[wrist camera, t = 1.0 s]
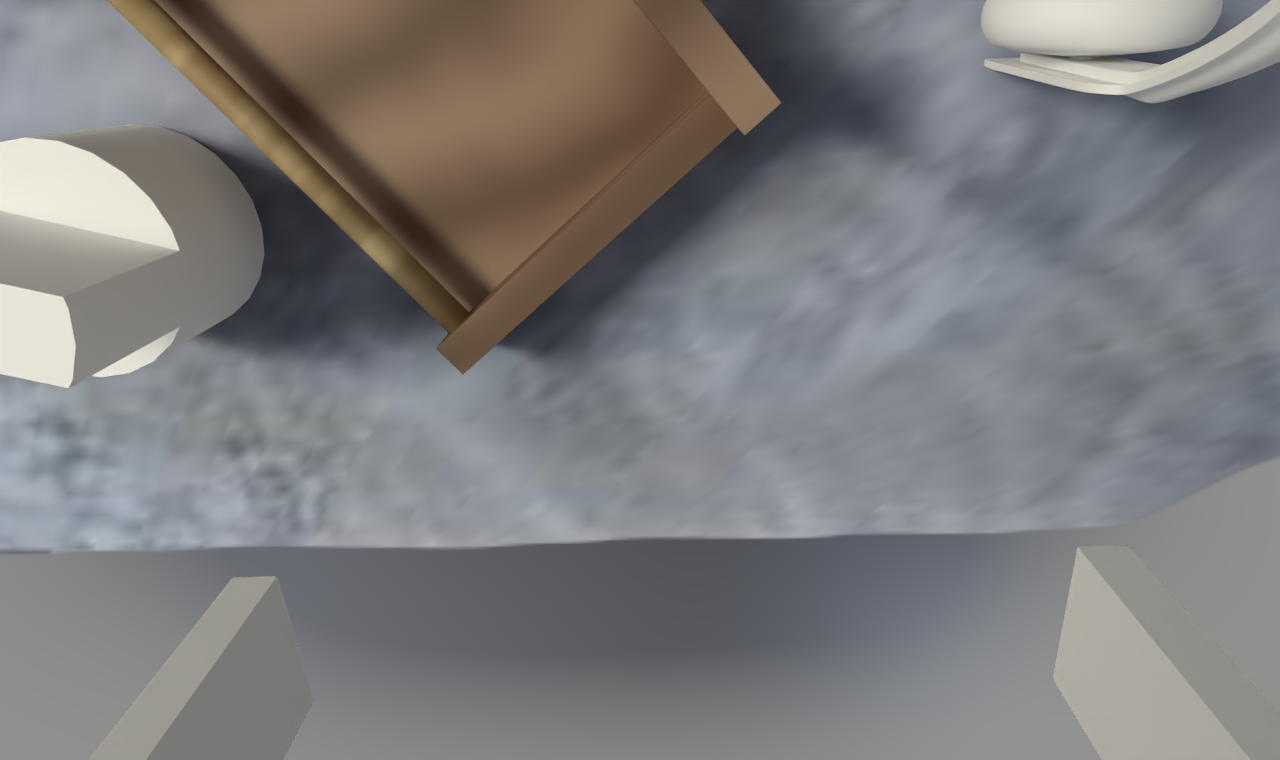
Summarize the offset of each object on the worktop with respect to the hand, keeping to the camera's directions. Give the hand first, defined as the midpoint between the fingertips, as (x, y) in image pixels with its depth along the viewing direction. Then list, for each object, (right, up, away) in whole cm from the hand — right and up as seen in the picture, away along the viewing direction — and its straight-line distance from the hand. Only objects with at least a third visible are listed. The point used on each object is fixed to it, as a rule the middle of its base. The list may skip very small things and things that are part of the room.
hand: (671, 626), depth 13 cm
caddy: (-9, +18, +18) cm, 27 cm away
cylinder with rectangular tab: (-21, +11, +22) cm, 32 cm away
